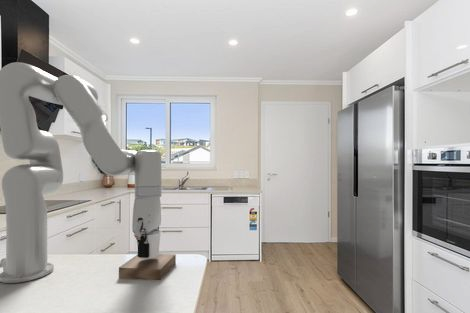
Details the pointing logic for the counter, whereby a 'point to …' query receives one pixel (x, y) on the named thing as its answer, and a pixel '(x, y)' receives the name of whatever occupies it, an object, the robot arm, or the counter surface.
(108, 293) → the counter surface
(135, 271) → the walnut base
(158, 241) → the white and grey cylinder
